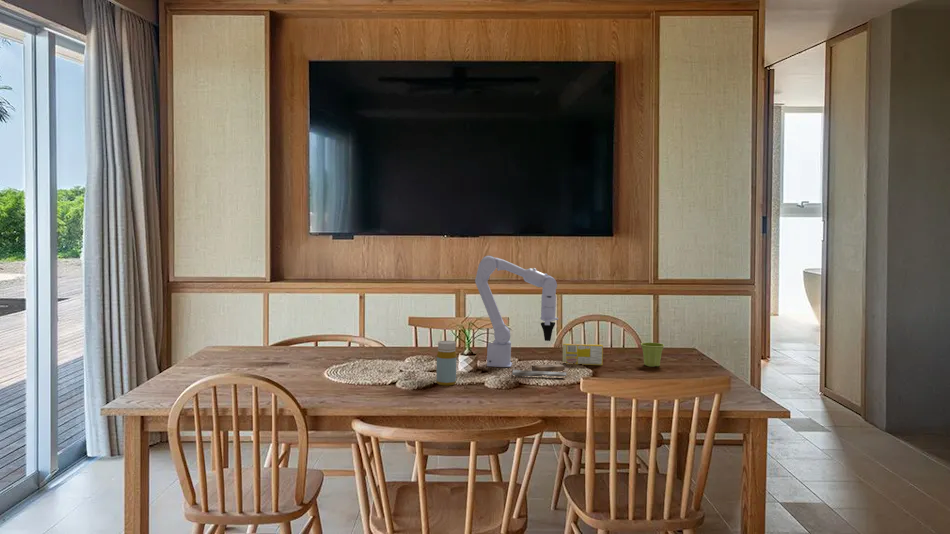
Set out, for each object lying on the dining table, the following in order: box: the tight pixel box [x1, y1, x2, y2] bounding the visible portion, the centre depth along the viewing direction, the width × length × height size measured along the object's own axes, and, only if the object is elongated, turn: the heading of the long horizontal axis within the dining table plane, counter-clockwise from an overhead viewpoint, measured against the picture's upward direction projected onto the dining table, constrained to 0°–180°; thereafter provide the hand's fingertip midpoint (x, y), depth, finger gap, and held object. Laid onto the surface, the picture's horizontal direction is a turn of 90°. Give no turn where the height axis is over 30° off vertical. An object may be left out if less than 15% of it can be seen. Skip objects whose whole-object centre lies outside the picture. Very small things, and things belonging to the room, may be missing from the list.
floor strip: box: [511, 369, 567, 377], centre depth 299 cm, size 20×6×2 cm, turn 82°
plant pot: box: [640, 342, 665, 367], centre depth 323 cm, size 9×9×9 cm
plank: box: [531, 363, 566, 372], centre depth 306 cm, size 12×4×3 cm, turn 109°
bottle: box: [435, 340, 457, 387], centre depth 283 cm, size 7×7×15 cm
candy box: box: [562, 343, 604, 366], centre depth 323 cm, size 16×2×8 cm, turn 84°
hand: (547, 340), depth 316 cm, fingers closed
